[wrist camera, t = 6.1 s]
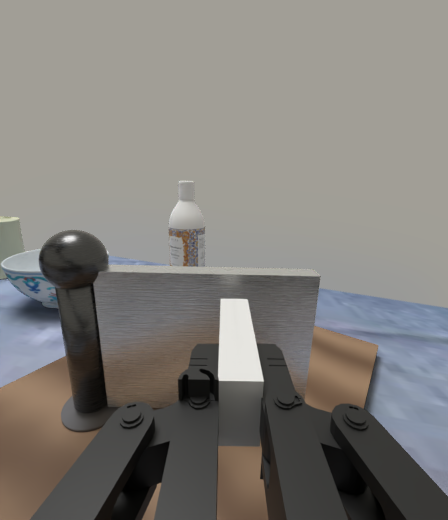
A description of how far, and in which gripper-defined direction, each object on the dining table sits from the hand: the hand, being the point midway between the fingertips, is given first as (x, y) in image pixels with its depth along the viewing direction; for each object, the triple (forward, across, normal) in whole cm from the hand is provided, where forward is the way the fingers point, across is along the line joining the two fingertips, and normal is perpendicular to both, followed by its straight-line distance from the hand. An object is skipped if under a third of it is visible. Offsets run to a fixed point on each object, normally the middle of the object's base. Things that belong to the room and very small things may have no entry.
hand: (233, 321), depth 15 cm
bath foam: (+39, -8, -12) cm, 42 cm away
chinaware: (+29, -28, -12) cm, 42 cm away
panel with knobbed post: (+5, -4, -10) cm, 12 cm away
